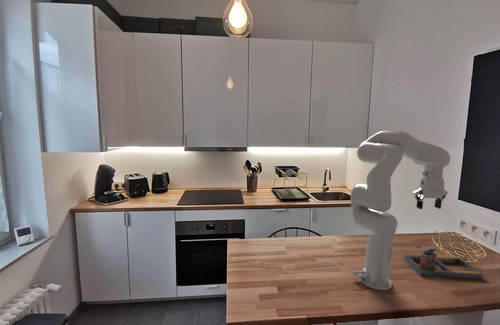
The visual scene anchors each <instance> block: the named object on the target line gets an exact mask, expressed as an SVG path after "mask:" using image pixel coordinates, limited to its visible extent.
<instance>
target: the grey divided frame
mask: <svg viewBox="0 0 500 325" xmlns="http://www.w3.org/2000/svg"><path fill="white" fill-rule="evenodd" d="M403 260H404V261H405V262H406V263H407V264H408V265H409V266H410V267H411V268H412V269H413V270H414V271H415V272H416V273H417V274H418V275H419V276H420V277H434V278H451V279H452V278H454V279H472V280H478V279H479V280H483V277H484V273H482V272H481V271H480V270H478V269H477V268H476V267H474V266H472V265H471V264H470V263H468V262H467V261H466V260H464V259H463V258H461V257H458V256H447V255H445V256H442V255H440V256H439V255H437V256H436V261H435V267H437V268H438V269H433V270H429V269H422V268H421V267H420V264H418V263H420V262H421V255H415V254H414V255H413V254H411V255H409V254H404V257H403ZM417 262H418V263H417ZM445 264H458V265H459V266H461V267H462V268H464V269H465V270H458V269H457V270H453V269H450V268H448V267H447V266H446V265H445Z"/></svg>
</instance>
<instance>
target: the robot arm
mask: <svg viewBox="0 0 500 325" xmlns="http://www.w3.org/2000/svg"><path fill="white" fill-rule="evenodd" d="M356 154H357V158H358V160H360V162H363V163H367V164H374V165H375V166H374V167H372V169H371V170H370V171H369V172H368V173H367V175H366V184H365V183H358V184H356V185H355V186H353V188H352V189H351V192H350V204H351V206H350V207H351V214H352V220H353V222H354V224H355V225H357V226H358V227H361V228H362V229H366V230H368V231H370V232H372V235H371V236H369V237H368V238H367V240H366V241H367V242H366V247H365V249H366V250H365V260H364V267H362V269H360V270H356V269H355V270H352V275H353V276H357V278H358V279H359V280H360V281H361V282H362V284H364V285H365V286H366V287H369V288H371V289H372V290H376V291H388V290H390V289H391V288H392V287H393V281H392V280H391V278H390V270H391V261H392V259H391V258H392V251H393V242H394V238H395V234H396V231H397V228H398V219H397V218H396V217H395V216H394V215H393V214H392V213H390V212H387V211H390V209H391V207H392V188H391V187H392V186H391V185H392V184H391V180H392V179H391V178H392V176H393V173H394V172H395V171H396V169H397V167H398V166H399V164H400V163H401V162H402V160H403V157H406V158H407V159H411V160H412V161H413V163H414V164H417V165H419V166H424V169H423V171H422V173H421V174H422V176H421V179H420V183H419V186H418V189H416V190H414V191H413V197H414V199H415V200H416V208H417V209H419V210H423V206H424V199H425V198H426V199H435V200H434V208H437V209H439V210H440V209H442V202H443V201H444V199H445V198H447V194H448V193H449V192H448V191H447V190H445V179H444V177H443V174H444V168H446V167H448V165H449V164H450V162H451V156H450V153H449V151H447V150H446V149H445V148H443V147H440V146H438V145H435V144H432V143H429V142H425V141H423V140H422V141H421V140H419V139H417V138H416V137H415V136H413V135H411V134H409V133H408V132H405V131H399V130H397V131H396V130H381V131H379V132H377V133H375V134H373V135H372V136H370V137H368V139H366V140H365V141H363V142H362V143H361V144H360V145H359V146H358V149H357V153H356Z"/></svg>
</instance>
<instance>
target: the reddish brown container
mask: <svg viewBox="0 0 500 325" xmlns="http://www.w3.org/2000/svg"><path fill="white" fill-rule="evenodd" d="M436 251H437V250H436V248H435V247H430V248H429V247H426V248H425V249H423V252H421V253H420V256H421V262H419V266H420V267H421V268H422V269H429V270H436V266H435V261H436V256H438V253H437V252H436Z"/></svg>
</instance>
